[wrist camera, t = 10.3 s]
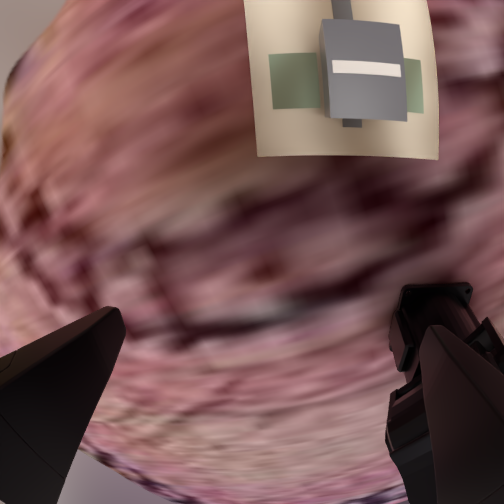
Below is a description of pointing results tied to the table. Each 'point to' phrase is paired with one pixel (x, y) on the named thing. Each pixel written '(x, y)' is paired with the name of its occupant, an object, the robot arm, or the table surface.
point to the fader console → (311, 84)
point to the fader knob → (362, 70)
